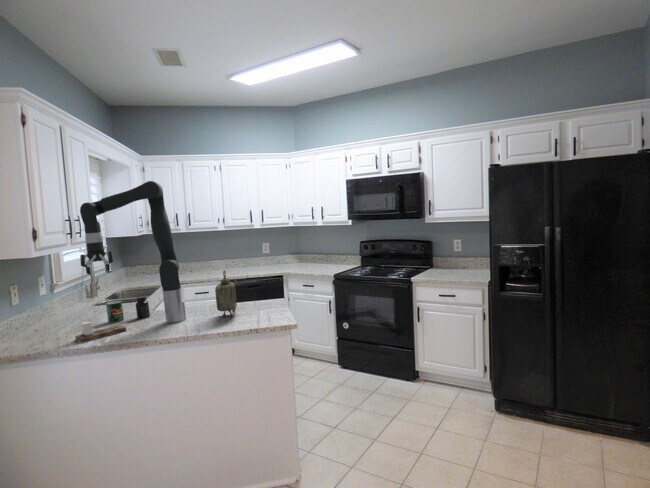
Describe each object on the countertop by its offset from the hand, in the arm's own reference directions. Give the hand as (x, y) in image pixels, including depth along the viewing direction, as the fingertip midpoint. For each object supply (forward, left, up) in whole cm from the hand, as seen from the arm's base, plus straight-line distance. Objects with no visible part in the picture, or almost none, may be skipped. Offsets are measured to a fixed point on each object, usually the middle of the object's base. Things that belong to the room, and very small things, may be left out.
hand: (98, 272), depth 198 cm
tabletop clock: (-48, +40, -30) cm, 69 cm away
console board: (+5, +9, -30) cm, 32 cm away
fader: (+11, +9, -28) cm, 31 cm away
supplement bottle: (-22, -6, -30) cm, 38 cm away
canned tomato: (-10, -14, -30) cm, 35 cm away
